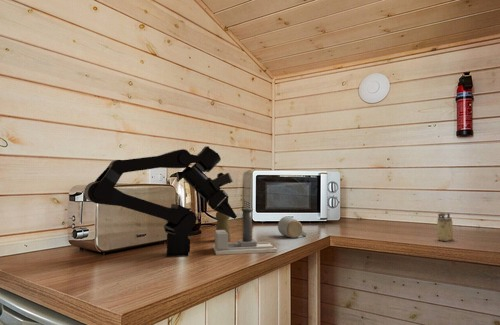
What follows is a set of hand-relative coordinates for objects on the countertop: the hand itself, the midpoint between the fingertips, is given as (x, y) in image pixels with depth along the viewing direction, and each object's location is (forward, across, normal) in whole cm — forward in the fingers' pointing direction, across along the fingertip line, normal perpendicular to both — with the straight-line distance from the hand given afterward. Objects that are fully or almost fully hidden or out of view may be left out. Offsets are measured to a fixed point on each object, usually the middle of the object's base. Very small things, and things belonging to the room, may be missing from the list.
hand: (233, 216), depth 107 cm
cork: (+7, +17, +9) cm, 21 cm away
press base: (+10, 0, +5) cm, 12 cm away
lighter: (+65, +3, -49) cm, 81 cm away
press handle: (+10, 0, +4) cm, 11 cm away
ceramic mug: (+27, +21, -11) cm, 36 cm away
